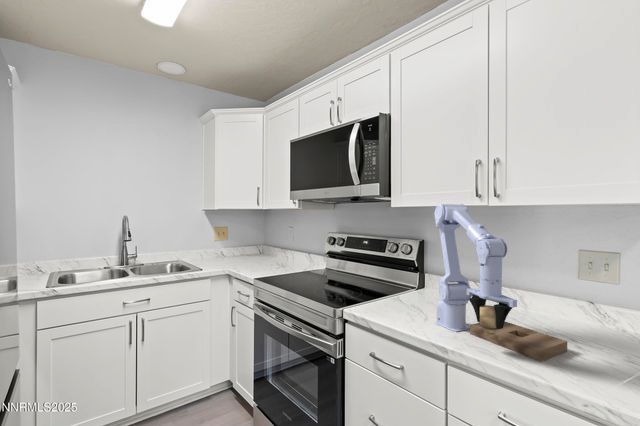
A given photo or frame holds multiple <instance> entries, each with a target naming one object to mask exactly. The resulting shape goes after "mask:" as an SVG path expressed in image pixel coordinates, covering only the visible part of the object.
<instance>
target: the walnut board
mask: <svg viewBox="0 0 640 426" xmlns="http://www.w3.org/2000/svg"><path fill="white" fill-rule="evenodd" d="M479 323H480V322H477V323H472V324H470V325H469V326H470V329H469V335H473V336H475V337H478V338H480V339H482V340H485V341H487V342H490V343H493V344H495V345H497V346H501V347H502V348H505V349H507V350H510V351H512V352H516V353H518V354H521V355H524V356H525V357H528V358H531V359H534V360H536V361H538V362H543V361H547V360H548V359H551V358H554V357H556V356H559V355H561V354H564V353H566V352H568V341H567V340H565V339H561V338H557V337H555V336H553V335H549V334H546V333H543V332H540V331H536V330H533V329H529V328H527V327H523V326H521V325H517V324H513V323H511V322H508V321H505V322H504V326H503V328H502V329H497V330H496V333H495V336H493V337H491V336H487V335H485V331H484V330H483V327H481V326H480V325H479Z"/></svg>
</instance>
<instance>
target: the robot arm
mask: <svg viewBox="0 0 640 426" xmlns="http://www.w3.org/2000/svg"><path fill="white" fill-rule="evenodd" d="M434 221H435V226H436V228H437V229H439V238H440V244H441V251H442V258H443V265H444V273H445V275H443V276H441V278H440V279H439V281H438V295H439V298H440V299H439V301H438V302H437V304H436V321H434V324H435V325H438V326H440V327H443V328H445V329H448V330H450V331H452V332H455V333H458V332H459V333H460V332H463V331H466V330H470V325H467V316H466V314H467V304H469V302H470V304H471V305H472V308H473V310H474V313H475V317H476V321H477V323H480V306H482V305H487V303H486V302H487V301H490V302H494V303H496V304H493V306H494V309H495V313H496V328H497V329H502V328H503V326H504V322H506V319H507V317H508V315H509V313H510V312H511V311H512V309H513V308H517V307H518V299H515V298H512V297H509V296H506V295H505V294H503V293H502V289H503V288H502V284H503V258H504V257H506V255H507V253H508V245H507V242H506V241H505V240H504V239H503V238H501V237H496V236H494V235H493V234H492V233H491V232H490V231H489V230H488V229H487V228H486V227H485V225H484V224H483V223H476V222H475V221H474V219H473V218H472V217H471V216H470V214H469V209H468V206H467V207H466V205H465V204H463V203H460V204H459V203H457V204H456V203H455V204H454V203H453V204H452V203H450V204H448V203H438V204H437V205H436V207H435V210H434ZM460 227H462V228H463V229H465V230H466V237H467V238H468V239H469V240H470V241H471V242H472V244H473V245H474V246H475V250H476V254H477V258H478V259H477V261H478V263H479V289H477V288H471V286H470V283H469V279H468V278H467V277H466V276H465V275H463V274H462V273H461V266H460V259H459V255H458V249H457V248H458V247H457V242H456V235H455V231H456V230H457V229H458V228H460Z"/></svg>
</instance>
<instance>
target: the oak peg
mask: <svg viewBox="0 0 640 426" xmlns="http://www.w3.org/2000/svg"><path fill="white" fill-rule="evenodd" d="M478 323H479V325H480V326H481V327H483V330H484V331H485V335H487V336H491V337H493V336H495V333H496V330H497V328H496V313H495V309H494V305H490V304H489V305H487V304H485V305H482V306H480V322H478Z"/></svg>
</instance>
